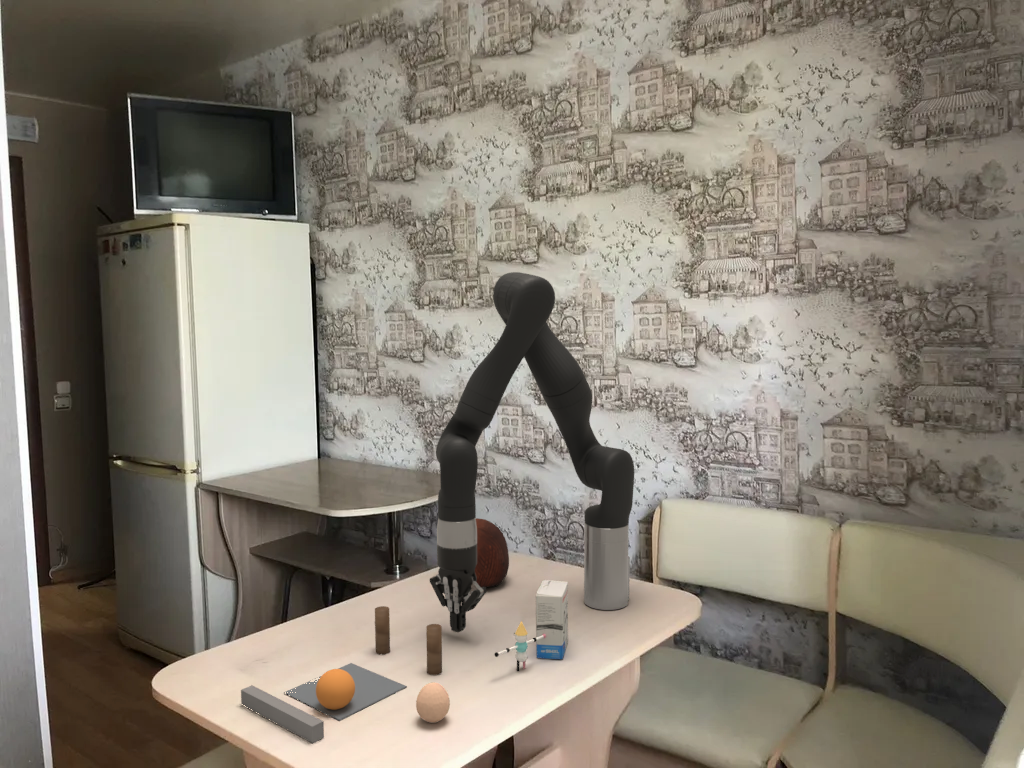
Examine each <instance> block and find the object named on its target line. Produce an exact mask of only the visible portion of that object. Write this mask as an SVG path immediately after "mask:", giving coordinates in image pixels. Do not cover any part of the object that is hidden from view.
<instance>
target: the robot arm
mask: <svg viewBox="0 0 1024 768" xmlns="http://www.w3.org/2000/svg"><path fill="white" fill-rule="evenodd" d="M492 293H493V294H492V295H493V296H492V298H493V304H494V306H495V309H496V312H497V313H498V315H499V317H500V319H501V320H502V322H503V323H504V324H505V327H504V329H503V331H502V333H501V335H500V337H499V339H498V340H497V342H496V344H495V345H494V346H493V348H492V349H490V352H489V353H488V354H487V355H486V356H485V357H484V358H483V360H482V361H481V362H480V363H479V365H477V366H476V368H475V369H474V370H473V372H472V374H471V376H470V377H469V378H468V380H467V382H466V385H465V387H464V389H463V390H462V394H461V396H460V399H459V401H458V403H457V405H456V408H455V411H454V413H453V415H452V416H451V417H450V419H449V421H448V423H447V424H446V426H445V428H444V429H443V432H442V433H441V435H440V437H439V440H438V441H437V444H436V449H435V457H436V459H437V462H438V464H439V473H440V489H439V490H438V496H437V524H436V564H437V567H438V568H439V569H438V574H436V575H434V576H432V577H430V578H429V583H430V585H431V587H432V588H433V590H434V593H435V595H436V598H437V599H438V601H439V603H440V605H441V606H442V607H443V608H445V607H446V608H447V610H448V612H449V626H450V630H451V631H453V632H454V633H460V632H462V631H464V630H465V628H466V627H467V613H468V612H470V611H472V610H474V609H475V608H476V607H477V606H478V604H479V603H480V601H481V600H482V599H483V598H484V595H486V593H487V587H480V586H479V585H478V583H477V582H476V581H477V577H476V574H475V567H476V565H477V525H476V510H477V509H476V487H477V486H476V485H477V479H478V466H479V463H478V462H479V461H478V459H479V458H478V452H477V448H476V445H477V443H478V442H479V439H480V437H481V435H482V433H483V432H484V430H486V429H487V428H489V426H490V424H491V423H492V421H493V419H494V416H496V413H497V410H498V408H499V405H500V403H501V401H502V399H503V397H504V394H505V392H506V390H507V388H508V385H509V384H510V382H511V380H512V378H513V376H514V374H515V373H516V371H517V369H518V368H519V365H520V364H521V363H522V361H523V359H524V360H525V361H526V364H527V366H528V368H529V371H530V372H531V374H532V377H533V378H534V380H535V383H536V384H537V387H538V389H539V392H540V394H541V395H542V398H543V400H544V402H545V403H546V406H547V409H549V411H550V413H551V415H552V417H553V419H554V421H555V423H556V425H557V428H558V430H559V432H560V433H561V436H562V438H563V441H564V443H565V446H566V448H567V451H568V454H569V456H570V460H571V463H572V465H573V467H574V471H575V473H576V475H577V477H578V479H579V481H580V482H581V483H582V484H583V485H584V486H586V487H587V488H589V489H591V490H597V491H600V492H601V499H600V503H599V504H595V505H590V506H588V507H587V508H586V509H585V510H584V525H583V526H584V530H583V531H584V533H583V535H584V540H583V541H584V547H583V548H584V550H583V551H584V552H583V553H584V557H583V559H584V561H583V567H584V568H583V569H584V570H583V572H584V573H583V576H584V577H583V579H584V580H583V603H584V604H585V605H586V606H588V607H589V608H592V609H596V610H603V611H615V610H619V609H623V608H625V607H627V605H629V604H628V601H629V600H630V573H631V572H630V570H631V569H630V567H631V566H630V564H631V563H630V561H631V559H630V556H629V539H630V538H629V533H630V532H629V527H630V526H629V523H630V522H629V521H630V515H631V512H632V508H633V504H634V503H633V501H634V500H633V499H634V498H633V497H634V484H635V466H634V460H633V458H632V455H631V454H630V453H629V452H628V451H626V450H625V449H622V448H616V447H611V446H610V447H609V446H605V445H602V444H600V442H599V441H598V439H597V437H596V435H595V433H594V431H593V429H592V427H591V422H590V420H591V412H592V409H593V393H592V389H591V386H590V384H589V382H588V380H587V378H586V376H585V373H584V371H583V369H582V367H581V366H580V364H579V362H578V361H577V360H576V358H575V357H574V356H573V355H572V353H571V352H570V351H569V350H568V348H567V347H566V346H565V345H564V344H563V343H562V342H561V340H560V339H559V338H558V337H557V336H556V335H555V333H554V332H553V330H552V329H551V327H550V326H549V324H548V322H547V321H548V320H549V318H550V316H551V314H552V312H553V310H554V307H555V303H556V293H555V289H554V287H553V285H552V284H551V282H549V281H548V279H546V278H544V277H541V276H538V275H534V274H531V273H525V272H519V271H517V272H516V271H513V272H508V273H504V274H503V275H501V276H500V277H499V278H498V279H497V281H496V283H495V284H494V288H493V292H492Z"/></svg>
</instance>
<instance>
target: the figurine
mask: <svg viewBox="0 0 1024 768" xmlns="http://www.w3.org/2000/svg"><path fill="white" fill-rule="evenodd" d="M476 525H477V565H476V567H475V574H476V577H477V581H476V582H477V583H478V585H479V586H480V587H485V588H493V587H498V586H500V585H501V584H502V583H503V582H504V579H506V577H507V576H508V570H509V569H510V568H509V567H510V556H509V554H510V553H509V548H508V543H507V541H506V537H505V535H504V533H503V532H502V531H501V529H500V527H498V526H497V525H496V524H494V523H493V522H491V521H490V520H487V519H484V518H476Z"/></svg>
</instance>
